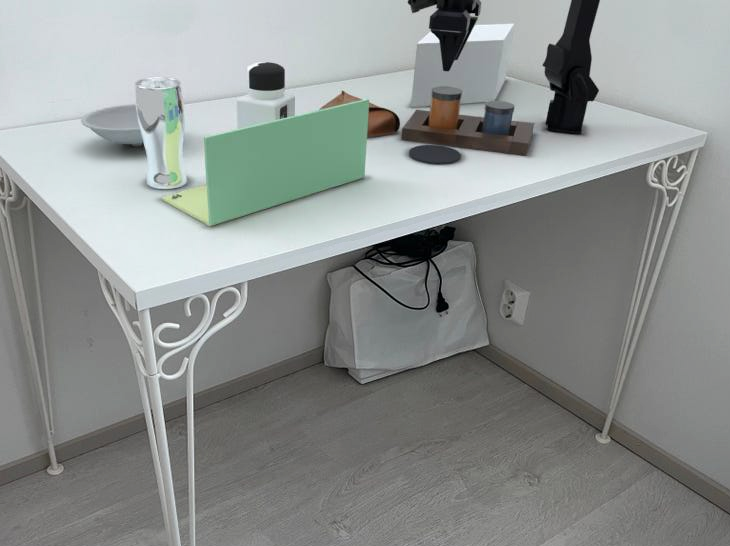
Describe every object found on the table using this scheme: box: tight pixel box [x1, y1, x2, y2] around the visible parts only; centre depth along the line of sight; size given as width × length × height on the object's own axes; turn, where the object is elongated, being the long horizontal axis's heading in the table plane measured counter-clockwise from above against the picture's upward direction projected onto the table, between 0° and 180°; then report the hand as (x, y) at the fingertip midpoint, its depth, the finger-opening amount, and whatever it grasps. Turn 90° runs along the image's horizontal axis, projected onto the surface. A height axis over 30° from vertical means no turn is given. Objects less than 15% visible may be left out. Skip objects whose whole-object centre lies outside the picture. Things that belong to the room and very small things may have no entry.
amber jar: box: [428, 86, 462, 130], centre depth 138 cm, size 6×6×8 cm
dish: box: [80, 103, 143, 147], centre depth 129 cm, size 18×14×5 cm
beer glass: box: [134, 76, 188, 190], centre depth 112 cm, size 7×7×15 cm
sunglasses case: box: [316, 90, 401, 138], centre depth 143 cm, size 18×7×7 cm, turn 36°
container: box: [236, 61, 296, 129], centre depth 131 cm, size 8×8×13 cm
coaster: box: [408, 144, 462, 165], centre depth 130 cm, size 9×9×1 cm
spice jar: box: [482, 100, 516, 136], centre depth 136 cm, size 5×5×6 cm
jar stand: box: [400, 109, 535, 156], centre depth 138 cm, size 23×13×2 cm, turn 72°
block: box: [410, 23, 515, 108], centre depth 161 cm, size 18×35×12 cm, turn 135°
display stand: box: [161, 98, 370, 227], centre depth 112 cm, size 30×12×12 cm, turn 132°
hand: (450, 65), depth 133 cm, fingers open, 9 cm apart
